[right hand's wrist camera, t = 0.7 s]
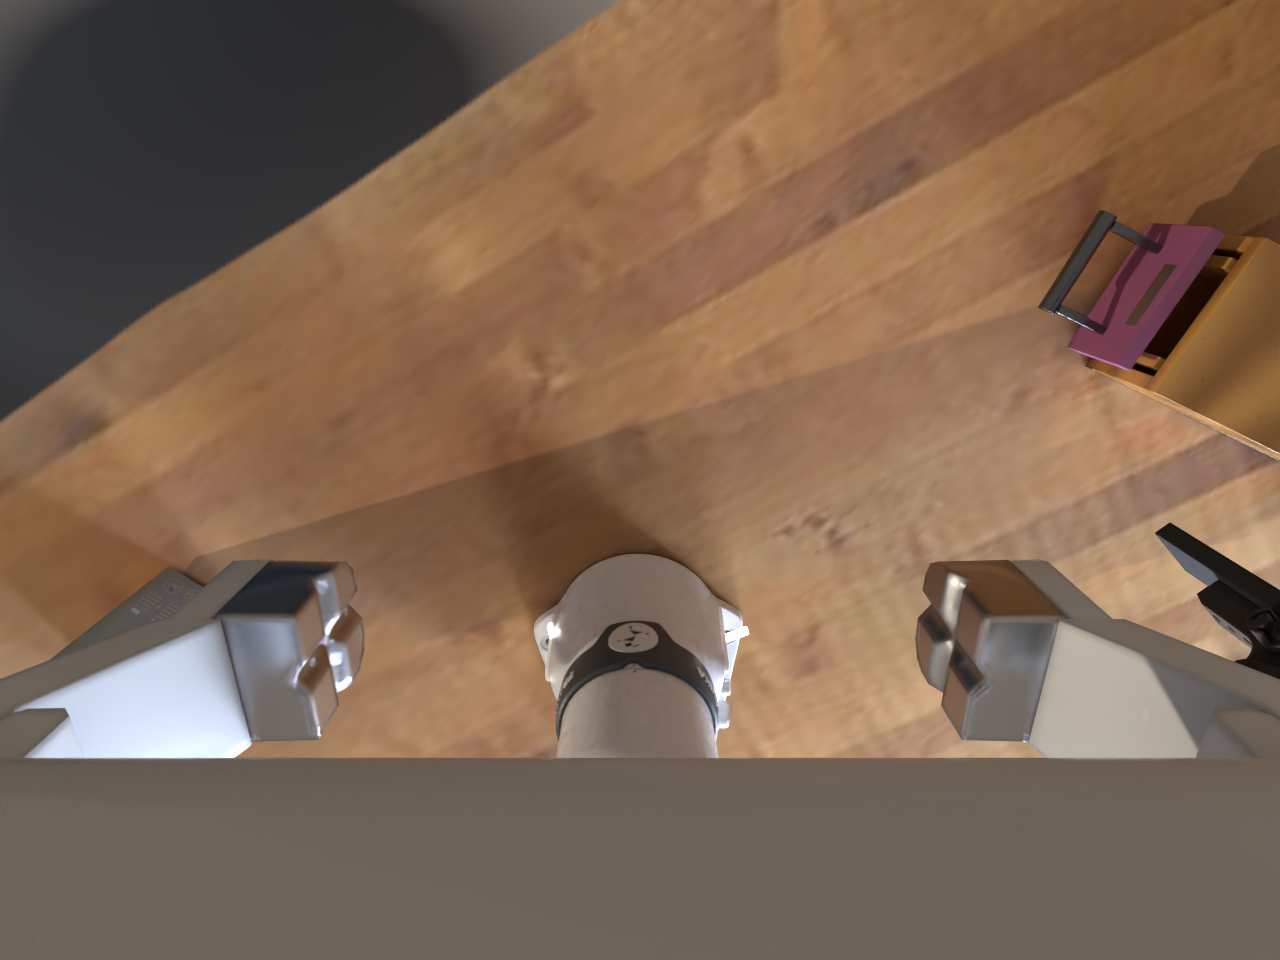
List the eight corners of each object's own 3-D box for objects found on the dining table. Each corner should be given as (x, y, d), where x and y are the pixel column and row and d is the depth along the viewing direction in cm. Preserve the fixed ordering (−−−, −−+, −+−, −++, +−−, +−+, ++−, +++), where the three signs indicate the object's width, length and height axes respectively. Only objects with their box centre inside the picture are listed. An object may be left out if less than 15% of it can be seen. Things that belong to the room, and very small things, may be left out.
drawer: (1009, 318, 54) (1052, 333, 48) (1090, 190, 51) (1146, 190, 45) (1271, 447, 58) (1339, 474, 52) (1362, 336, 54) (1445, 352, 49)
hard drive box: (169, 562, 63) (-30, 717, 44) (248, 609, 64) (89, 777, 46) (96, 676, 67) (-112, 860, 48) (171, 717, 69) (-1, 910, 50)
